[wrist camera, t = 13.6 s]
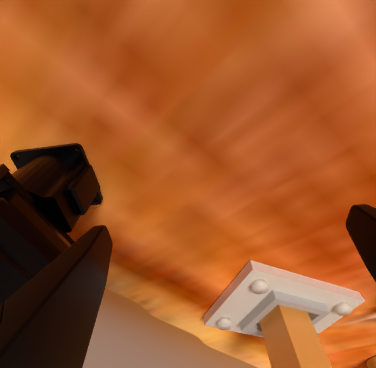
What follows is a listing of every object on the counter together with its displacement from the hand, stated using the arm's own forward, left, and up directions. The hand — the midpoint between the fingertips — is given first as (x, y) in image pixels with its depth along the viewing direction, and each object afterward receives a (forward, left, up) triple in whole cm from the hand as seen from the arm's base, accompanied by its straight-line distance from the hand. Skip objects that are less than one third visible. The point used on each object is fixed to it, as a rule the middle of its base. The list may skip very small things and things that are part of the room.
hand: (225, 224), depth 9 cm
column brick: (+9, -29, -12) cm, 32 cm away
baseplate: (+9, -29, -13) cm, 33 cm away
